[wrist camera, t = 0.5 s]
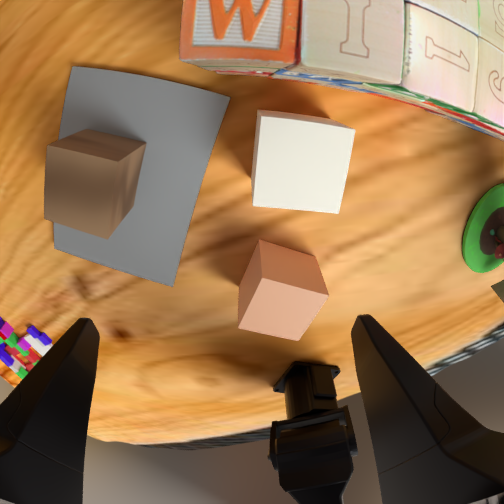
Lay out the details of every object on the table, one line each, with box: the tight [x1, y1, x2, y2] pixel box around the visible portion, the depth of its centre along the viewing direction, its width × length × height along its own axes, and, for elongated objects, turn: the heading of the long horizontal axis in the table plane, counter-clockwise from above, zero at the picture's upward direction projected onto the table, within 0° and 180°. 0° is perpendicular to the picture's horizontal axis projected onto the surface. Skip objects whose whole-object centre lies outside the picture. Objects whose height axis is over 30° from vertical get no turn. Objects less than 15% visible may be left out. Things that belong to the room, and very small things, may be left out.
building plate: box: [54, 66, 231, 287], centre depth 20 cm, size 16×12×1 cm
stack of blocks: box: [179, 0, 504, 141], centre depth 10 cm, size 21×6×12 cm, turn 86°
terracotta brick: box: [238, 239, 329, 341], centre depth 23 cm, size 5×5×5 cm
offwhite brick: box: [251, 109, 355, 214], centre depth 17 cm, size 5×5×5 cm
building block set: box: [0, 317, 53, 379], centre depth 31 cm, size 25×20×4 cm
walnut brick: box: [44, 129, 147, 240], centre depth 17 cm, size 5×5×5 cm
